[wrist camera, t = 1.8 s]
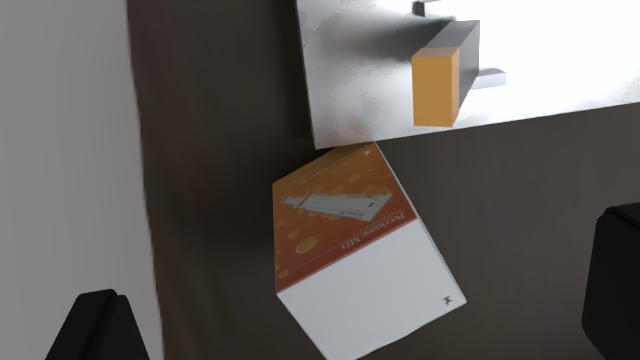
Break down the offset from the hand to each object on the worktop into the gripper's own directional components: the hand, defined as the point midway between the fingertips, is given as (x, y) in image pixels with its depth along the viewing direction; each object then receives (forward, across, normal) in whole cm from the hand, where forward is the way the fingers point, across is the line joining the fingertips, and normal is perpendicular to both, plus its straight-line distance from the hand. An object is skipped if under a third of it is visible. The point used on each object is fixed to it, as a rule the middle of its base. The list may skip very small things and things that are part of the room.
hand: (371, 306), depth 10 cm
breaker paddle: (+21, -10, 0) cm, 23 cm away
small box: (+25, -2, +10) cm, 27 cm away
